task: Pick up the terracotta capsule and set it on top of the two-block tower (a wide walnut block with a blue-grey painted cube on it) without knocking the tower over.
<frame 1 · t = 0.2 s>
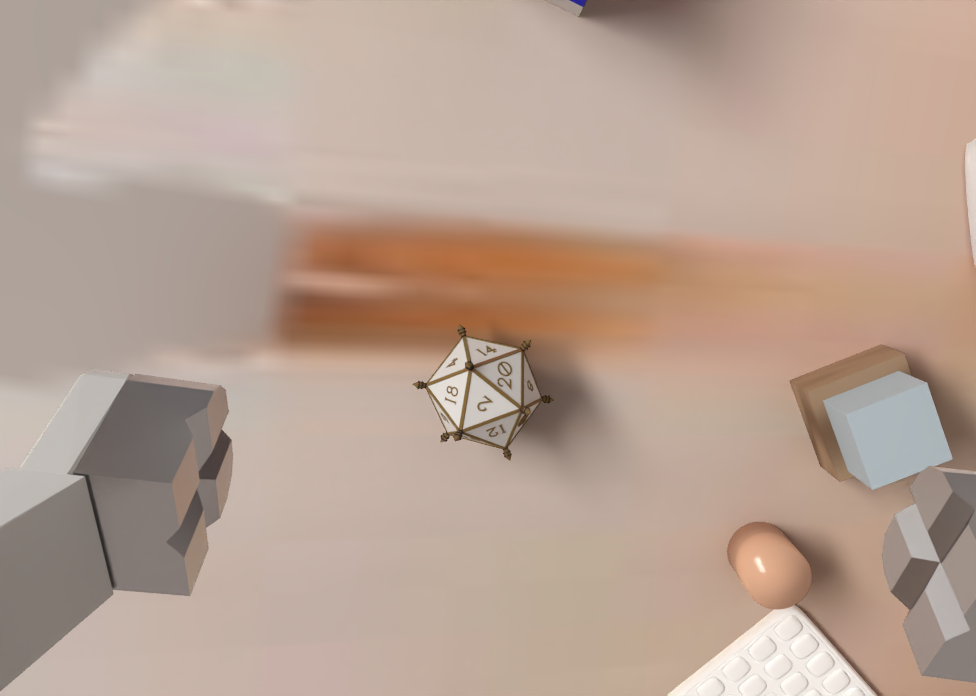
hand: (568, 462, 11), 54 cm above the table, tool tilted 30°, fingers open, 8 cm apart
walnut block: (848, 405, 66), on the table, touching blue-grey cube
blue-grey cube: (873, 421, 62), point 4 cm above the table, touching walnut block
terracotta capsule: (757, 550, 68), on the table
game die: (484, 379, 66), on the table
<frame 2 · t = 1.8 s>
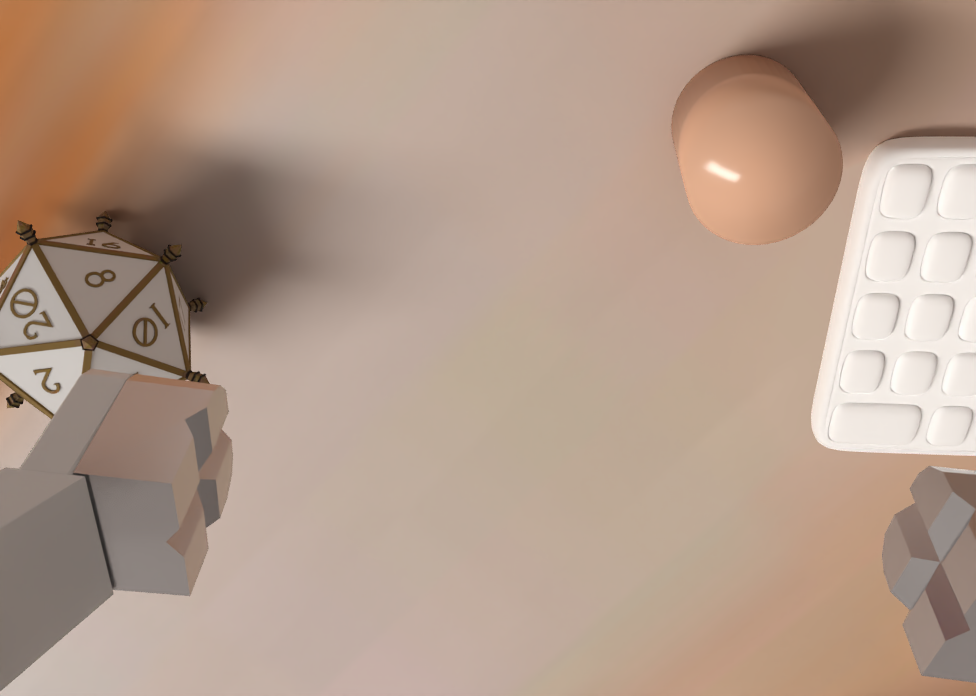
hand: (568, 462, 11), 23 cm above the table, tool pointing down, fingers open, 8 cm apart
terracotta capsule: (738, 121, 31), on the table
game die: (137, 276, 37), on the table
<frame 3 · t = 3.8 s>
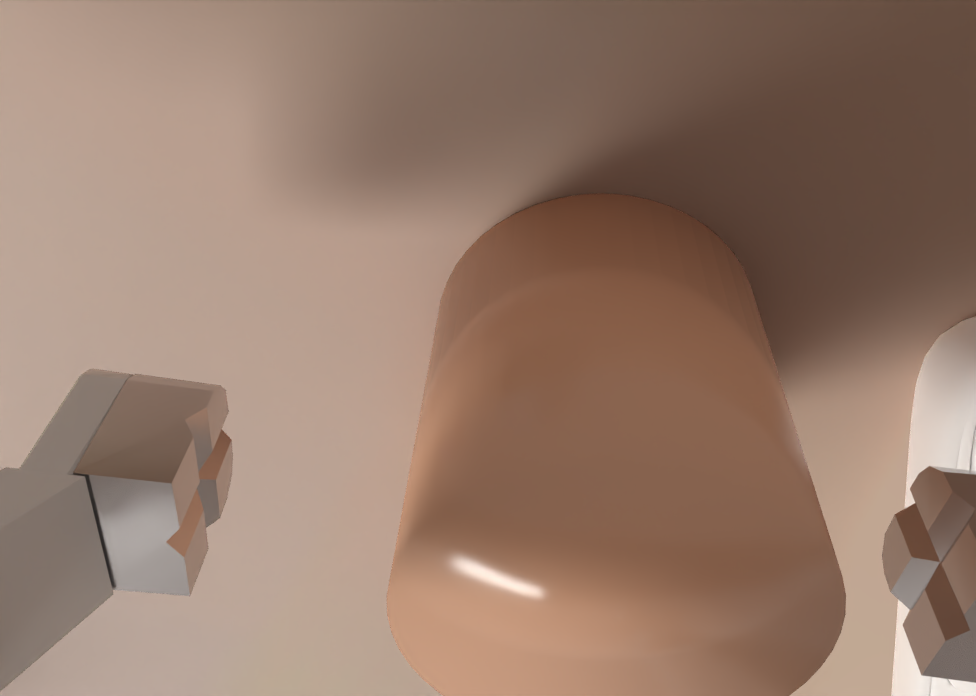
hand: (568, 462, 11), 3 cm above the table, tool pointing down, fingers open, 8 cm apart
terracotta capsule: (594, 334, 13), on the table
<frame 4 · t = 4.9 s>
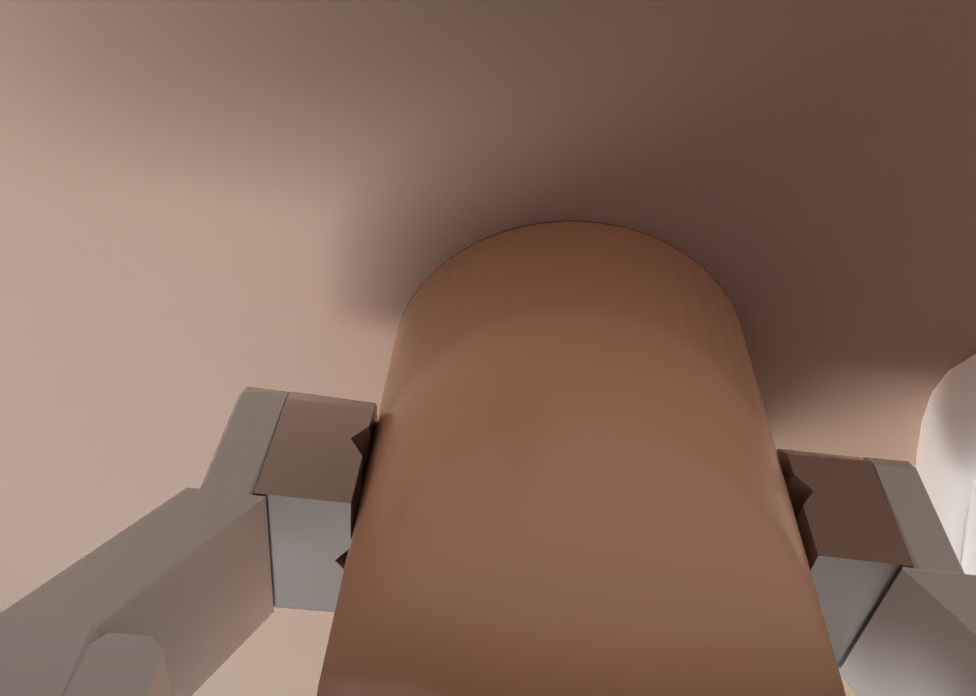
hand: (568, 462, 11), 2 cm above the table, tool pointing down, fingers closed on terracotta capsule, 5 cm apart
terracotta capsule: (566, 373, 12), on the table, touching gripper
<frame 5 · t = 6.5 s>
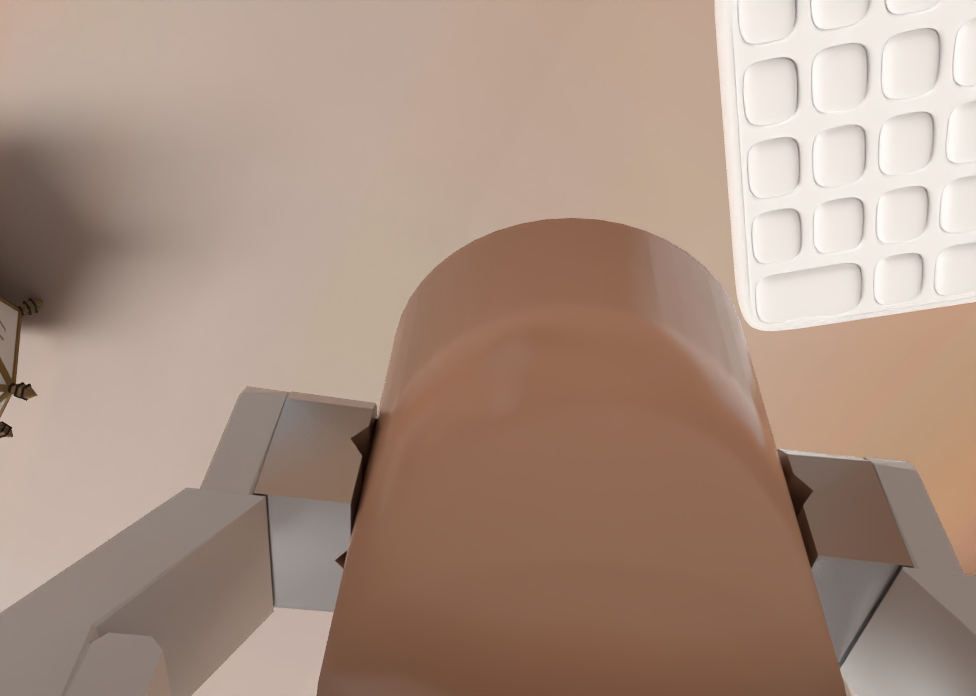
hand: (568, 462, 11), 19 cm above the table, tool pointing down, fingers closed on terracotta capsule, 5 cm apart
terracotta capsule: (566, 370, 12), point 17 cm above the table, touching gripper
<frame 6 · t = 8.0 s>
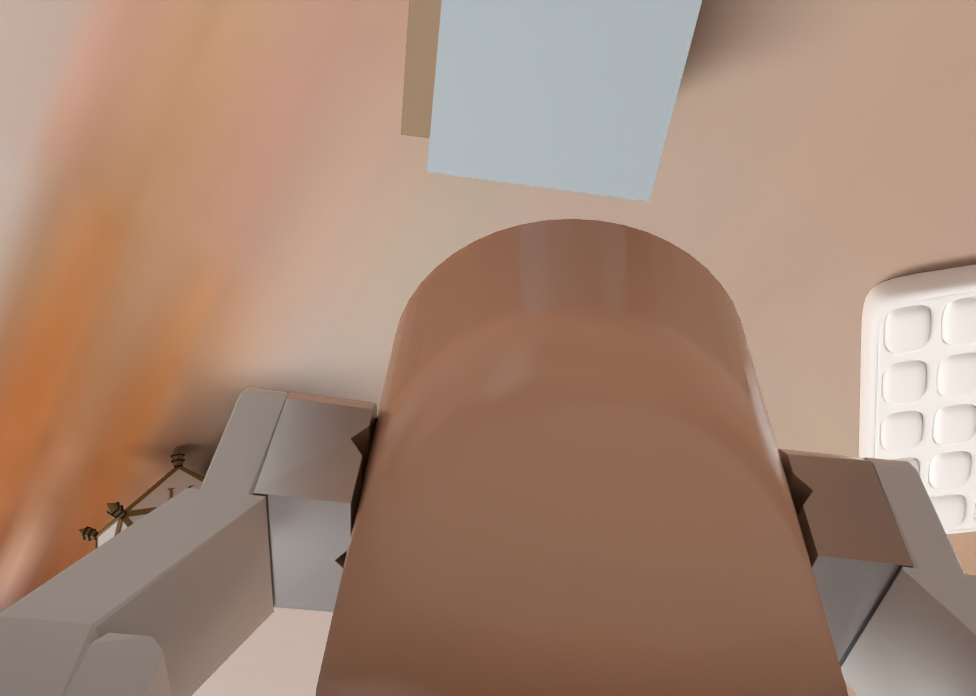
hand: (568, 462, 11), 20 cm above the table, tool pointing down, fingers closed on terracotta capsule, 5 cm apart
blue-grey cube: (556, 20, 23), point 4 cm above the table, touching walnut block
terracotta capsule: (566, 372, 12), point 18 cm above the table, touching gripper
game die: (216, 489, 41), on the table
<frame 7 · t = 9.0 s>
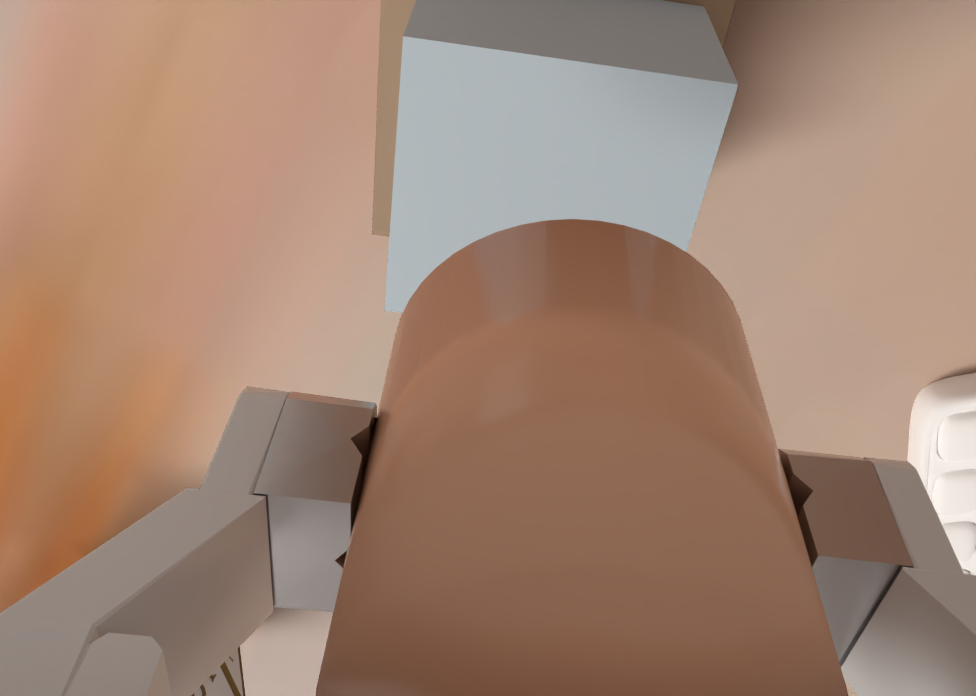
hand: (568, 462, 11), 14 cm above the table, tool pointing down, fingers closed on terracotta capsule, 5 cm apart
walnut block: (540, 50, 23), on the table, touching blue-grey cube
blue-grey cube: (544, 116, 19), point 4 cm above the table, touching walnut block
terracotta capsule: (566, 372, 12), point 13 cm above the table, touching gripper
game die: (179, 587, 37), on the table
when the fingers open (11 cm above the table, at t = 10.7 s): terracotta capsule drops 1 cm, resting on blue-grey cube.
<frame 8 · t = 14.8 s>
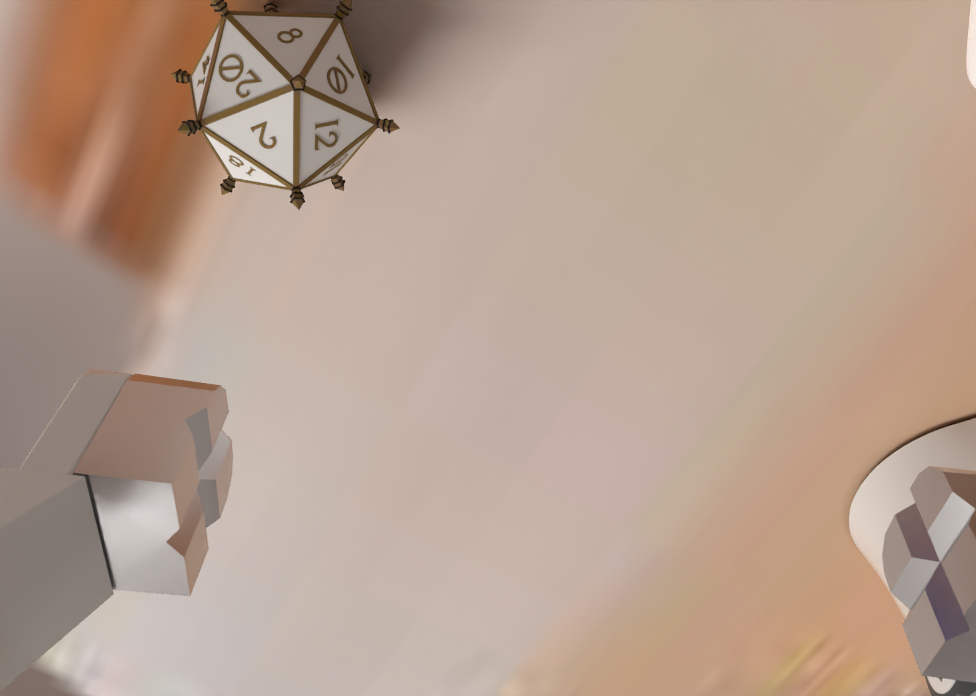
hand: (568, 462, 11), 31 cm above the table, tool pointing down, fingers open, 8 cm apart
game die: (305, 63, 40), on the table
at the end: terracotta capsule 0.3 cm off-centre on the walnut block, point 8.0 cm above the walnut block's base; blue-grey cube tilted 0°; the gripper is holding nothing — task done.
